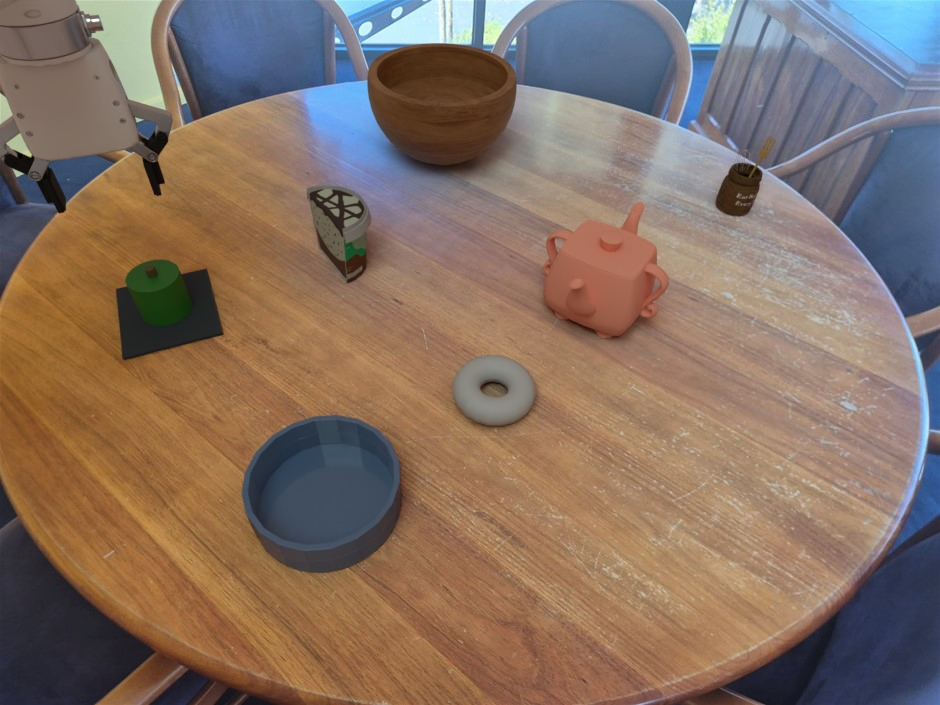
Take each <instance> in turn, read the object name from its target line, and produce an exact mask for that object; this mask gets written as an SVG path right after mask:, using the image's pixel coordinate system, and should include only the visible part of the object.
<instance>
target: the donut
mask: <svg viewBox="0 0 940 705" xmlns="http://www.w3.org/2000/svg"><path fill="white" fill-rule="evenodd" d="M489 383H496V384H501V385H502V386H504V387H505V388H506V389H507V392H506V393H505V394H503V395H500V396H491V395H488V394H486V393H484V392H483V391H482V390H481V387H482V386H483V385H485V384H489ZM536 394H537V393H536V384H535V381H534V379H533V376H532V375H531V373H530V372H529V370H528V369H527V368H526V367H525V366H524V365H523V364H521V363H520V362H518V361H516V360H515V359H513V358H510V357H507V356H503V355H494V354H493V355H492V354H486V355H482V356H477V357H475V358H472V359H471V360H469V361H466V362H465V364H463V366H462V367H461V368H460V369H459V370H458V371H457V372H456V374H455V377H454V379H453V382H452V396H453V397H452V398H453V400H454V402H455V404H456V407H457V408H458V409H459V410H460V411H461V413H463V415H465V417H467V418H469V419H470V420H472V421H473V422H476V423H478V424H481V425H485V426H488V427H491V426H493V427H494V426H495V427H496V426H497V427H502V426H506V425H511V424H514V423H515V422H517V421H519V420H521V419H522V418H524V417H525V416H526V415H527V414H528V413H529V411H530V410H531V409H532V408H533V405H534V402H535V399H536V396H537V395H536Z"/></svg>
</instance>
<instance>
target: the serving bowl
mask: <svg viewBox="0 0 940 705" xmlns="http://www.w3.org/2000/svg"><path fill="white" fill-rule="evenodd" d="M398 457H399V456H397V453H396V451H395V448H394V446H393V444H392V442H391V441H390V440H389V439H388V438H387V437H386V436H385V435H384V434H383V433H382V432H381V431H380V430H379V429H378V428H377V427H375V426H373V425H371V424H369V423H367V422H365V421H364V420H361V419H358V418H355V417H349V416H345V415H339V414H332V415H331V414H329V415H314V416H311V417H308V418H305V419H302V420H298V421H296V422H292V423H290V424H289V425H287V426H285V427H284V428H282V429H280V430H279V431H276V432H275V433H274V434H272V435H271V436H270V437H269V438H268V439H267V440H266V441H265V442H264V443H263V444H262V445H261V446H260V447H259V448H258V449H257V450H256V451H255V453H254V455H253V456H252V458H251V460H250V461H249V464H248V466H247V467H246V469H245V472H244V475H243V482H242V487H241V498H242V503H243V508H244V512H245V516H246V517H247V519H248V522H249V524H250V527H251V528H252V531H253V532H254V535H255V537H256V538H257V540H258V541H259V543H260V545H261V546H262V547H263V549H264V550H265V551H266V553H267V554H268V555H269V556H270V557H271V558H273V559H274V560H276V561H277V562H278V563H279V564H282V565H283V566H285V567H287V568H289V569H292V570H295V571H298V572H303V573H311V574H313V573H314V574H323V573H324V574H325V573H333V572H338V571H341V570H344V569H348V568H351V567H352V566H355V565H357V564H359V563H361V562H363V561H364V560H366V559H368V558H369V557H370V556H372V555H373V554H374V553H375V552H377V551H378V550H379V549H380V548H381V547H382V546H383V545H384V544H385V543H386V541H387V539H389V538H390V536H391V534H392V532H393V531H394V530H395V528H396V525H397V523H398V521H399V517H400V514H401V511H402V510H401V509H402V505H403V499H402V498H403V496H402V480H401V479H402V478H401V476H402V475H401V465H400V464H401V463H400V459H399V458H398Z"/></svg>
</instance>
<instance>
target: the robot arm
mask: <svg viewBox="0 0 940 705" xmlns="http://www.w3.org/2000/svg"><path fill="white" fill-rule="evenodd" d="M104 31H105V30H104V26H103V22H102V19H101V17H100V15H99V14H91V15H90V13H85V11H84V10H81V9H80V6H79V4H78V3H77V1H76V0H0V85H1V88H2V91H3V94H4V96H5V99H6V101H7V104H8V106H9V109H10V112H11V115H10V117H8V118H7V119H5V120H4V121H2V122H1V123H0V160H1V161H2V162H3V163H4V165H5V166H6V167H8V168H10V169H13V170H14V171H17V172H19V173H22V174H24V175H25V176H28V178H29V179H30V180H31V181H34V182H36V185H37V187H38V188H39V190H40V192H41V194H42V196H43V198H44V200H45V201H46V203H47V204H53V206H54V207H55V209H56V212H57V213H58V214H64V213H65V212H66V211H67V198H66V196H65V193H64V190H63V188H62V187H61V184H60V183H59V180H58V178H57V177H56V174H55V173H54V170H53V169H52V167H50V166H49V165H50V163H51V162H54V161H64V160H71V159H76V158H84V157H91V156H96V155H102V154H104V155H105V154H109V153H116V152H121V151H122V152H123V151H127V150H130V151H132V153H135V154H136V155H138V156H140V158H142V159H141V160H142V164H143V168H144V171H145V173H146V177H147V179H148V182H149V185H150V187H151V190H152V192H153V195H154V196H156V197H160V196H163V195H162V190H161V185H165V184H166V181H165V178H164V174H163V170H162V169H161V165H160V162H159V156H160V155H161V153H162V152H163V151H164V148H165V147H166V146H167V144H168V143H169V137H170V134H171V130H172V125H173V121H174V119H173V116H172V113H171V112H170V111H169V110H167V109H163V108H159V107H156V106H153V105H149V104H146V103H143V102H139V101H136V100H132V99H129V97H128V95H127V92H126V90H125V87H124V85H123V83H122V80H121V79H120V76H119V74H118V72H117V69H116V67H115V65H114V63H113V62H112V59H111V58H110V56H109V54H108V52H107V50H106V49H105V48H104V46H103V44H102V42H101V41H100V39H98V38H95V37H92V36H93V35H92V34H96V32H104ZM137 119H140V120H143V121H147V122H150V123H154V124H156V125H155V128H154V131H153V132H152V134H151V135H150V137H147V136H145V134H142V133H141V132H140V131H138V122H137ZM18 135H20V136H21V139H22V140H23V142H24V144H25V146H26V148H27V150H28V151H29V153H30V154H31V156H29V155H27V154H24V153H22V152H20V151H18V150H16V149H13V148H12V147H10V145H8V142H10V141H12V140H13V139H14V138H15V137H17V136H18Z"/></svg>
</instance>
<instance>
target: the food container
mask: <svg viewBox="0 0 940 705" xmlns="http://www.w3.org/2000/svg"><path fill="white" fill-rule="evenodd" d="M306 198H307V200H308V202H309V207H310V211H311V215H312V216H311V217H312V220H313V225H314V230H315V234H316V240H317V244H318V249H319V250H320V252H321V253H322V254H323V255H324V257H325V258H326V259H327V260H328V261H329V263H330V264H331V265H332V266H333V267H334V269H335V270H336V271H337V272H338V274H339V275H340V276H341V277H342V279H343V280H344V281H345V282H346V283H347V284H349V283H351V282H354V281H355V280H357V279H359V278H360V277H361V276H362V275H363V273H364V272H365V271H366V268H367V264H368V250H367V249H368V248H367V247H368V242H367V241H368V240H367V239H368V238H367V237H368V236H367V235H368V234H367V233H368V232H367V231H368V229H369V228H370V225H371V224H372V223H371V222H372V217H371V216H372V215H371V212H370V209H369V207H368V204H367V202H366V201H365V199H364V198H363V197H362V195H361V194H359V192H357V191H355V190H353V189H351V188H349V187H345V186H341V185H335V184H321V185H319V184H318V185H314V186H308V187H306Z"/></svg>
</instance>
